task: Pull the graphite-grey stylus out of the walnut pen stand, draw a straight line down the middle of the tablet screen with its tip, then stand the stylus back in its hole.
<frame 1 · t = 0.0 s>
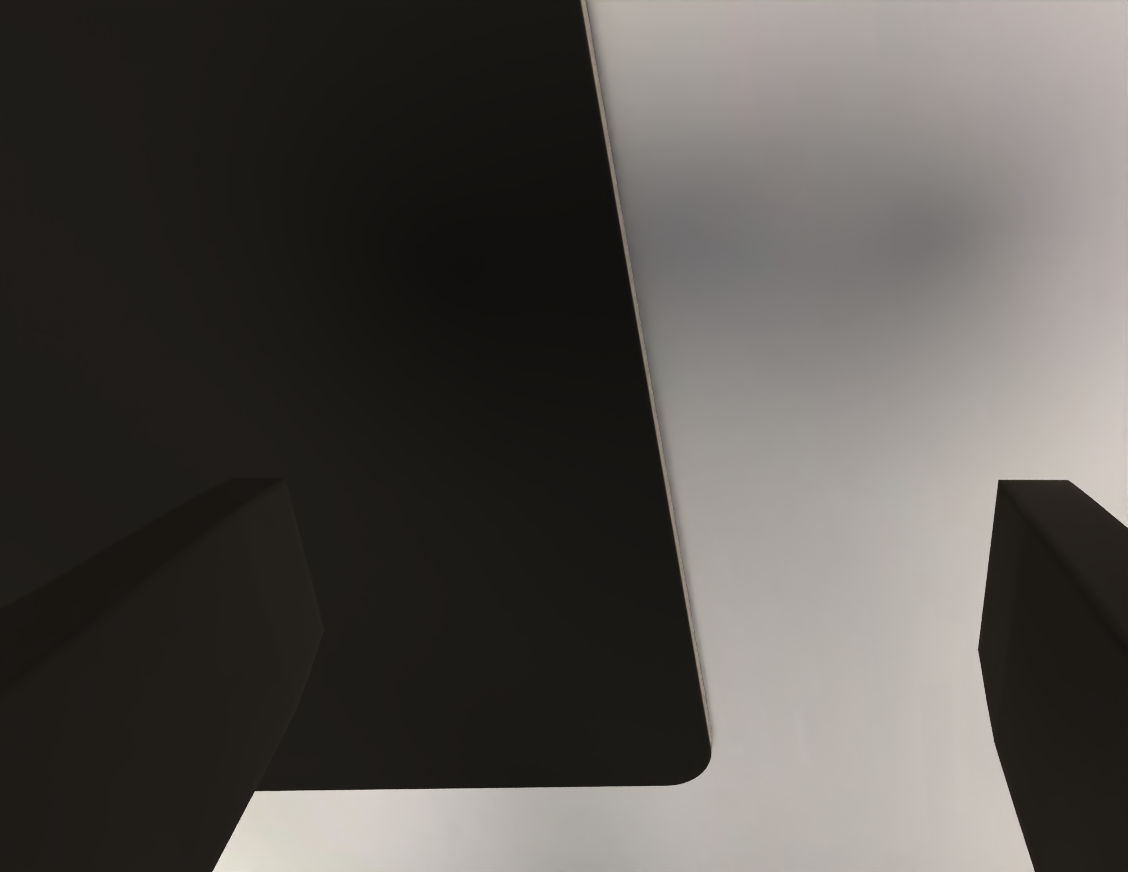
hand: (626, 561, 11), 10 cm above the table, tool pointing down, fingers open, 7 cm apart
tablet: (159, 304, 22), on the table
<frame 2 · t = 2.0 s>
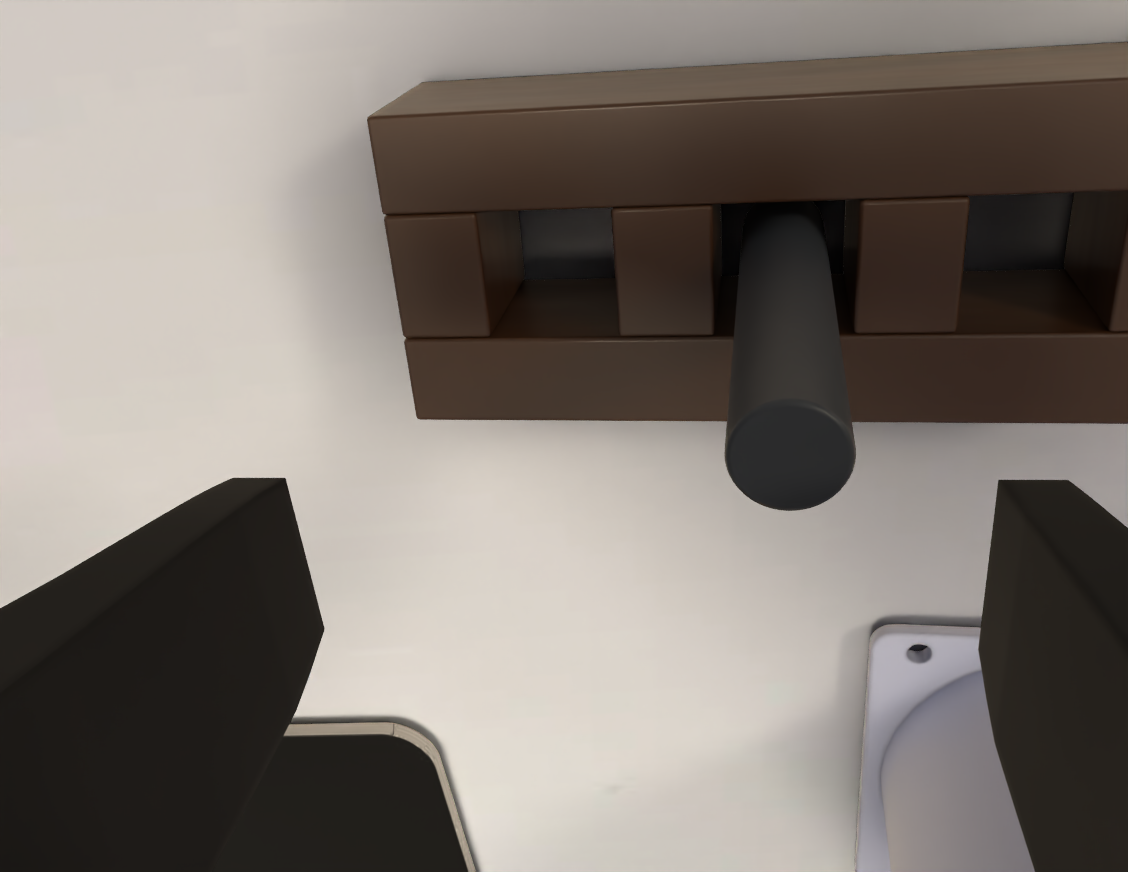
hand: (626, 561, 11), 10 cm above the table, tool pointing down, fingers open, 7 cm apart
stand: (782, 215, 19), on the table
stylus: (785, 306, 15), in the stand
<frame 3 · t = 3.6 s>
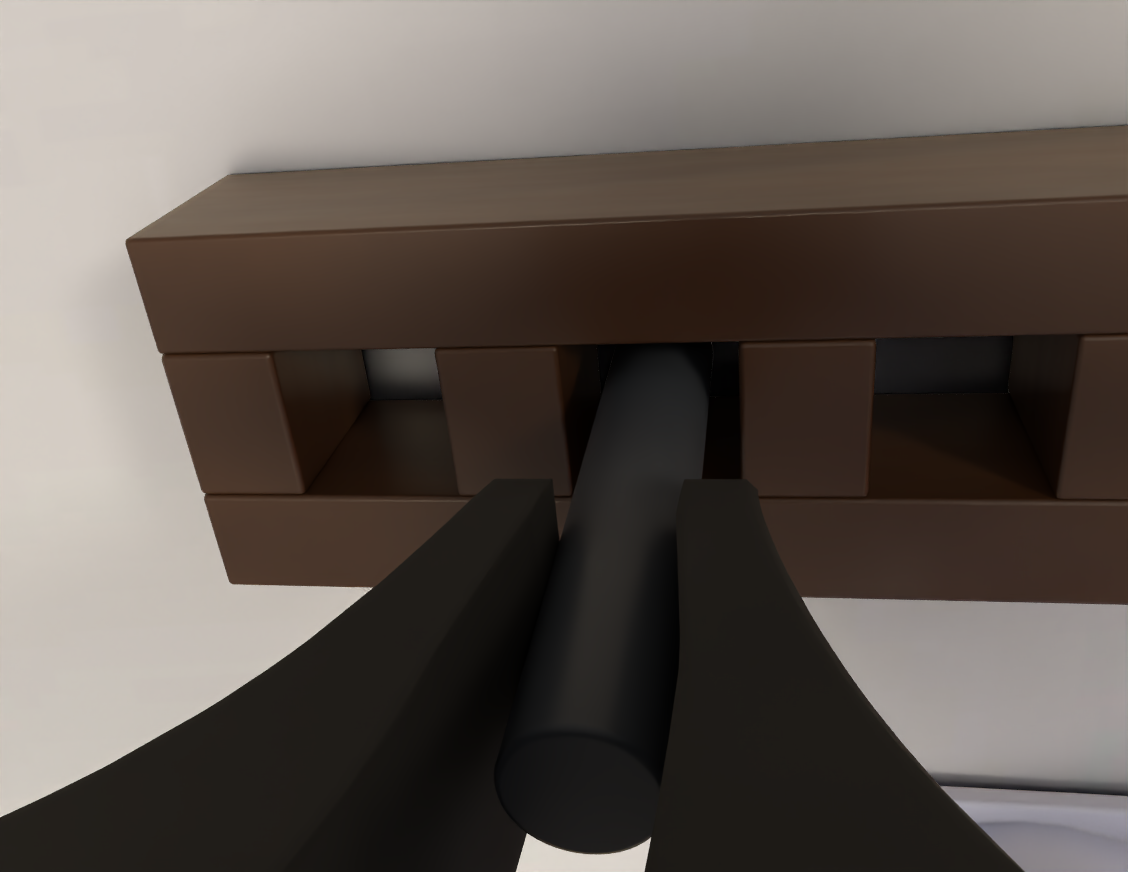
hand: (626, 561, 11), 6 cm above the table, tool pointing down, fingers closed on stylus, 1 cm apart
stand: (668, 329, 16), on the table
stylus: (638, 488, 12), in the stand, touching gripper
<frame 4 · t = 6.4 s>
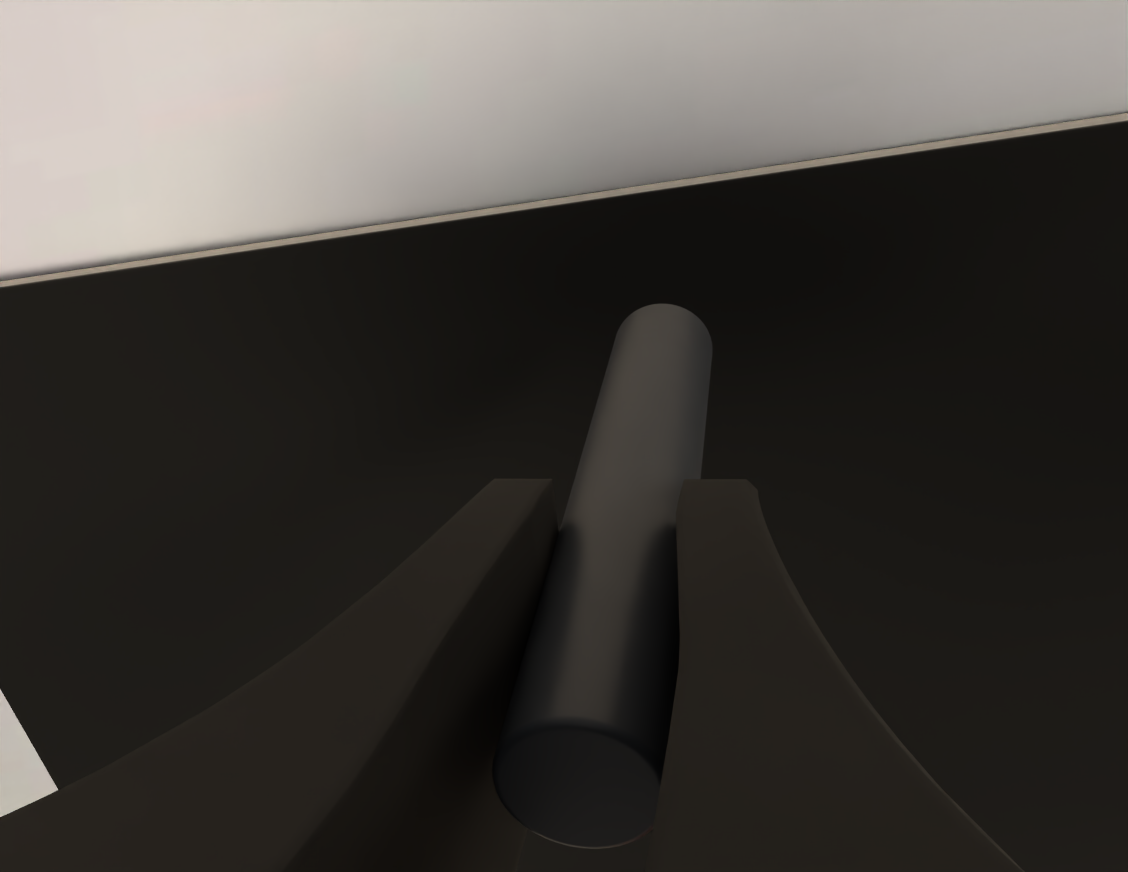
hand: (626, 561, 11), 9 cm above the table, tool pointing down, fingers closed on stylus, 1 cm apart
tablet: (522, 641, 24), on the table
stylus: (637, 482, 12), point 8 cm above the table, touching gripper
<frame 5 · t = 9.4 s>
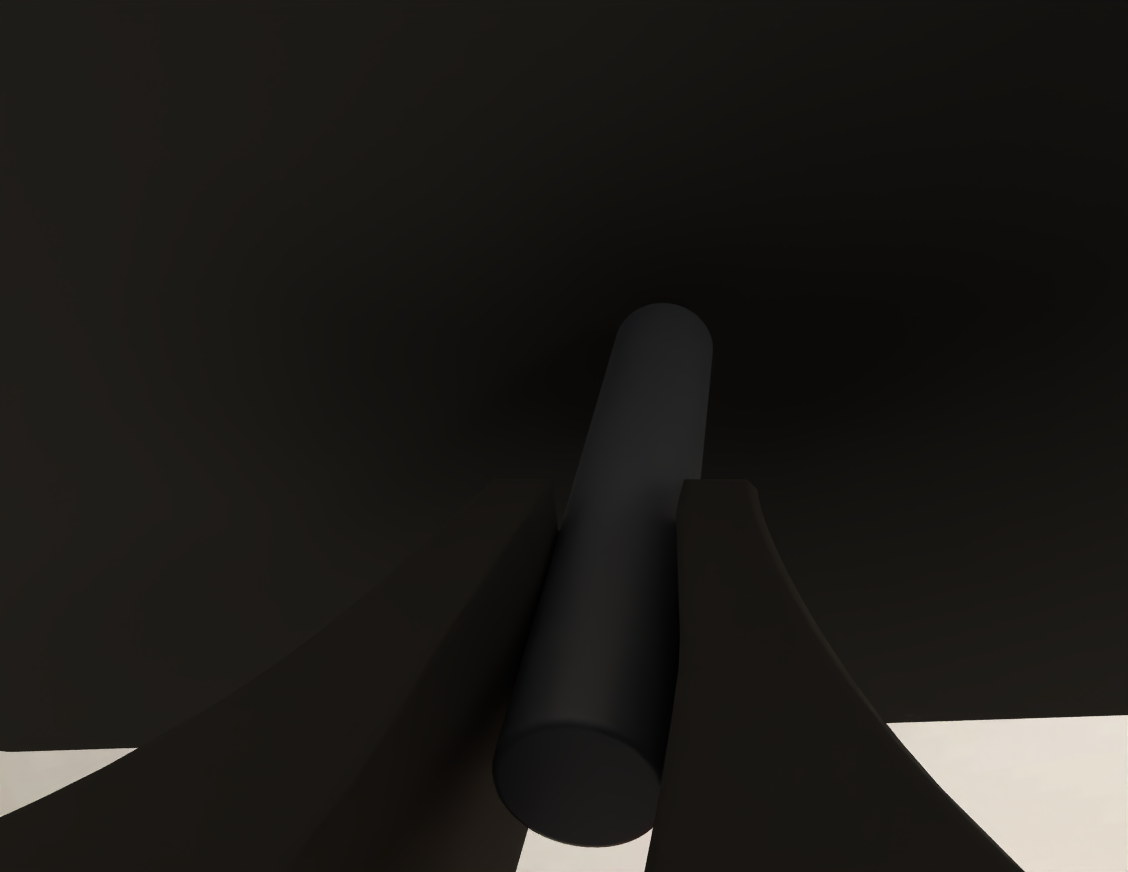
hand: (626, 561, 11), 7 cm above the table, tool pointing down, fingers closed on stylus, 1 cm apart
tablet: (419, 235, 17), on the table
stylus: (637, 481, 12), point 5 cm above the table, touching gripper
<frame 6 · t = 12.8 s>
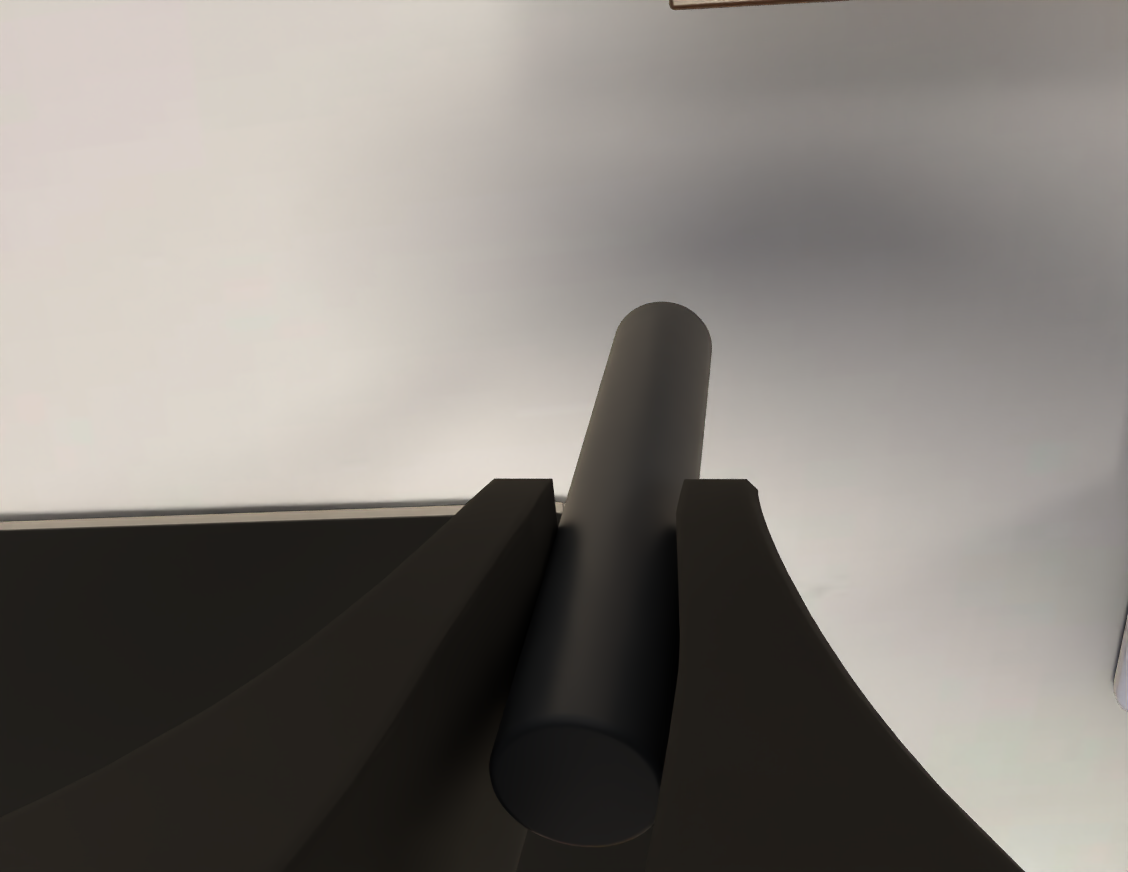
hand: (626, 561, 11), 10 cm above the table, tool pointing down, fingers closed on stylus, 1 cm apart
tablet: (213, 803, 31), on the table
stylus: (636, 480, 12), point 9 cm above the table, touching gripper
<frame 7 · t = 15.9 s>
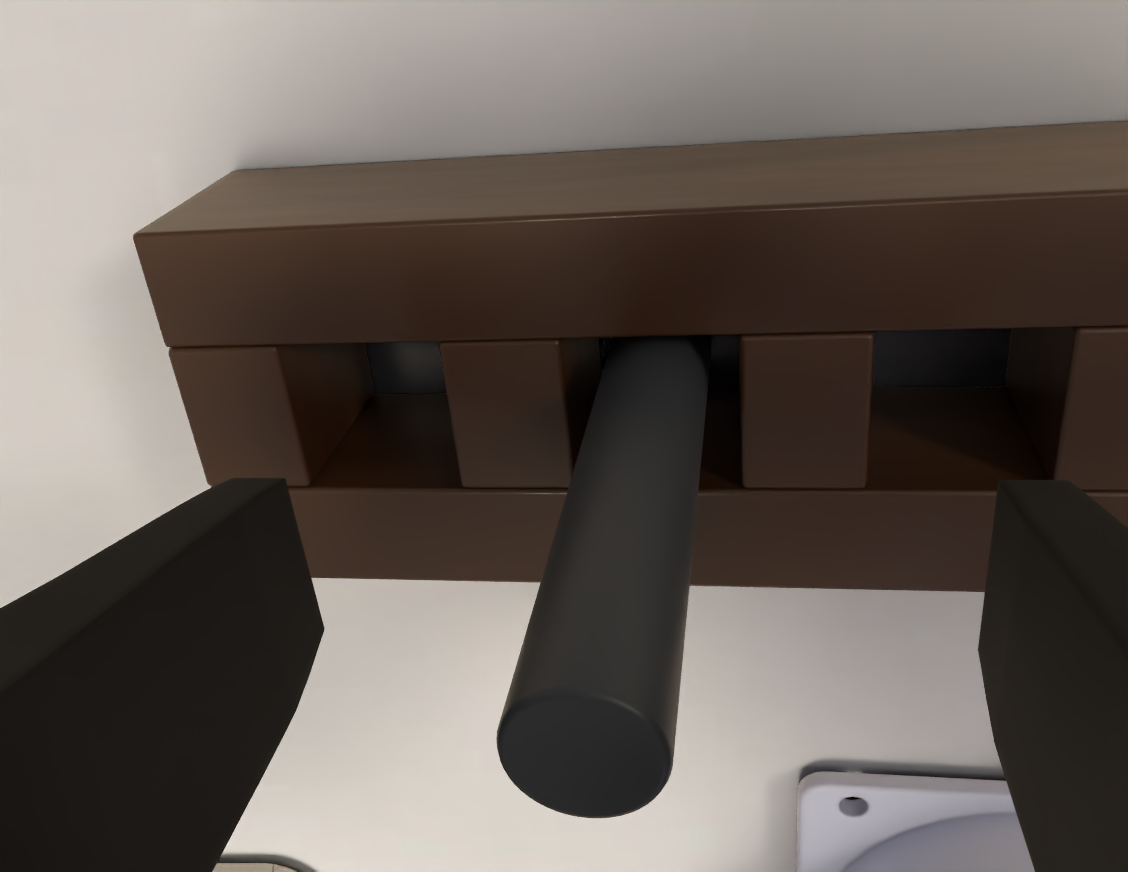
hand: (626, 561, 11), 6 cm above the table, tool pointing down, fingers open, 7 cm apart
stand: (669, 324, 16), on the table
stylus: (638, 464, 12), in the stand
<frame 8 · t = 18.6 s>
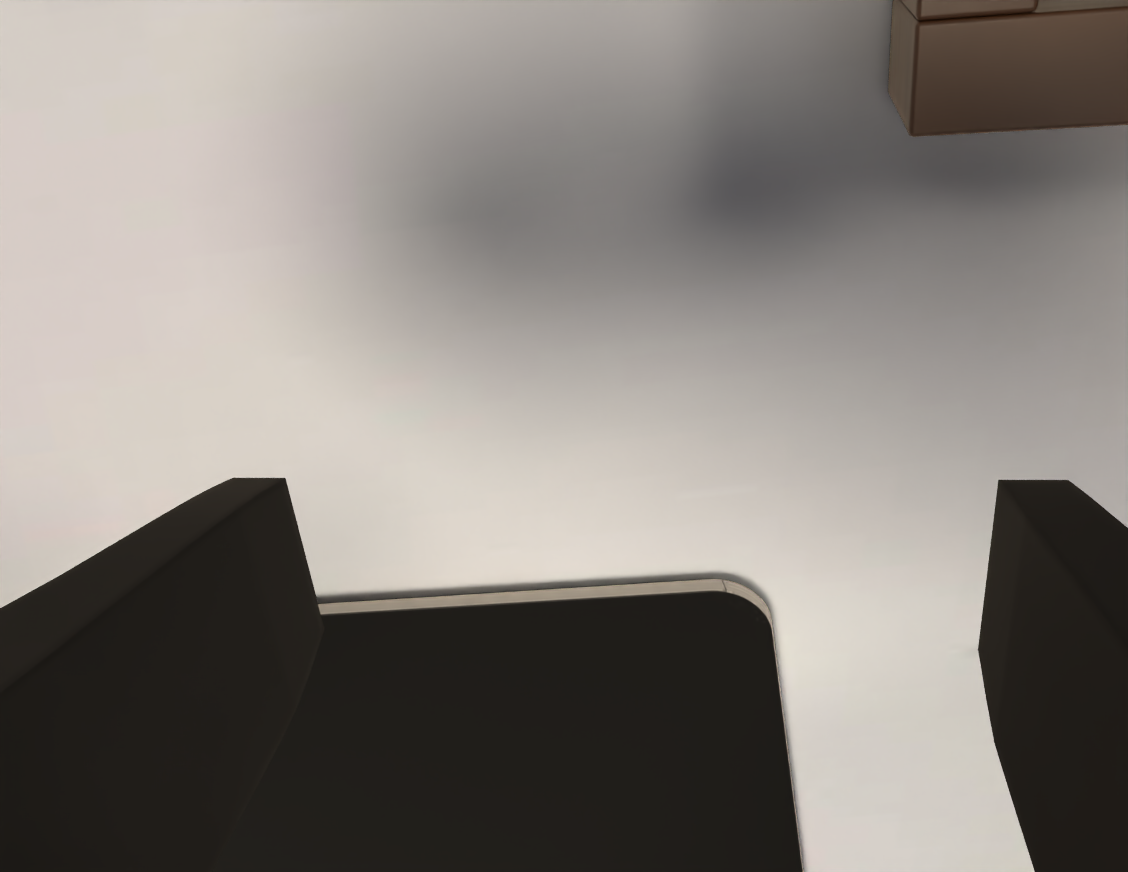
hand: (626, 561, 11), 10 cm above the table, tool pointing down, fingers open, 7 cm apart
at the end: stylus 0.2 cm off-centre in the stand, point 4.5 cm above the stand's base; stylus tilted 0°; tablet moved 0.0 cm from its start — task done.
